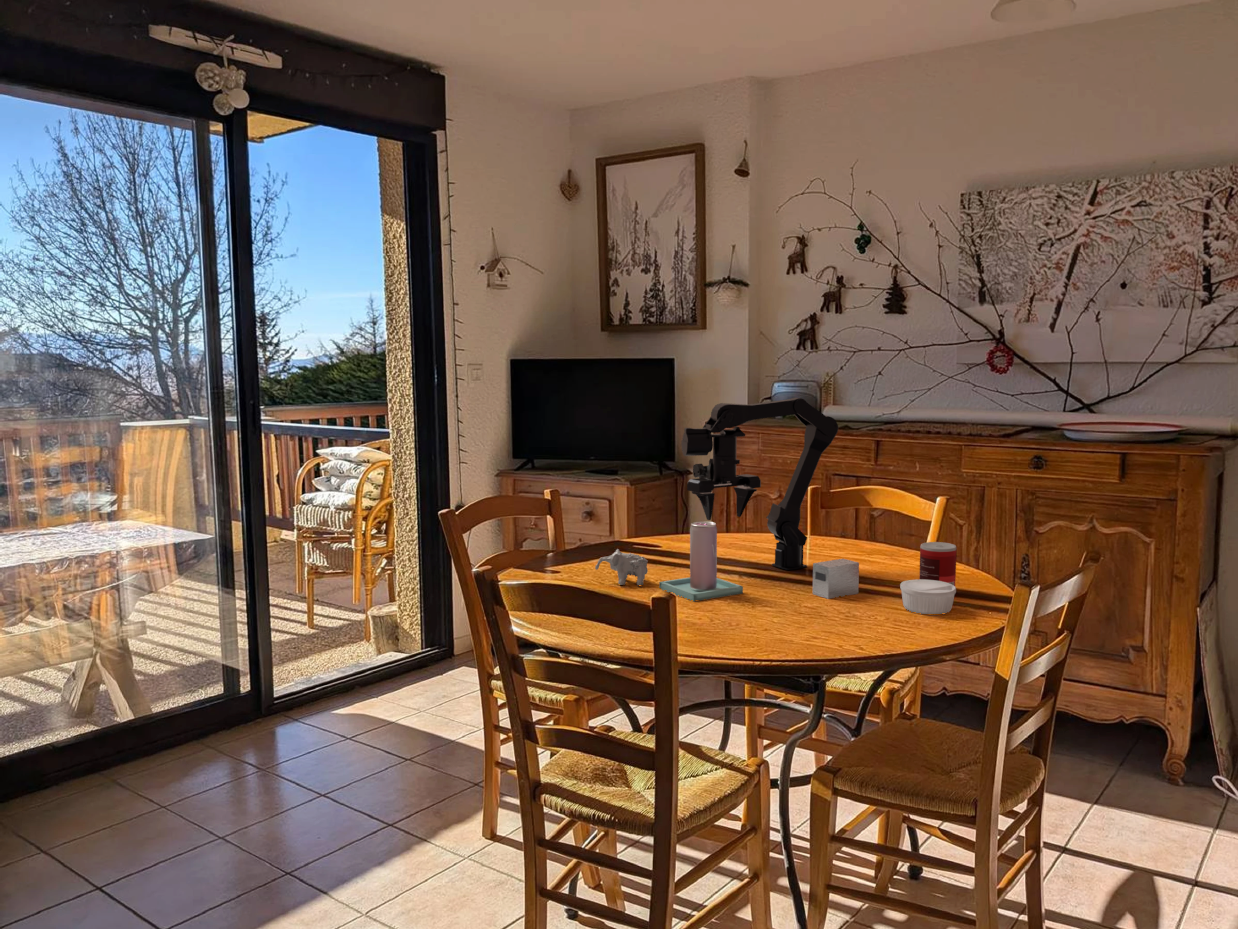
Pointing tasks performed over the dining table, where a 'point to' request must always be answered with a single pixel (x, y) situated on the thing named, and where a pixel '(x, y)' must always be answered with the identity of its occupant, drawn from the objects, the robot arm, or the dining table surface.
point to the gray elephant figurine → (626, 566)
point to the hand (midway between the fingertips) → (724, 518)
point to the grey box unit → (835, 578)
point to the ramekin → (927, 596)
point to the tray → (684, 590)
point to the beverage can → (703, 556)
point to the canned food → (938, 562)
